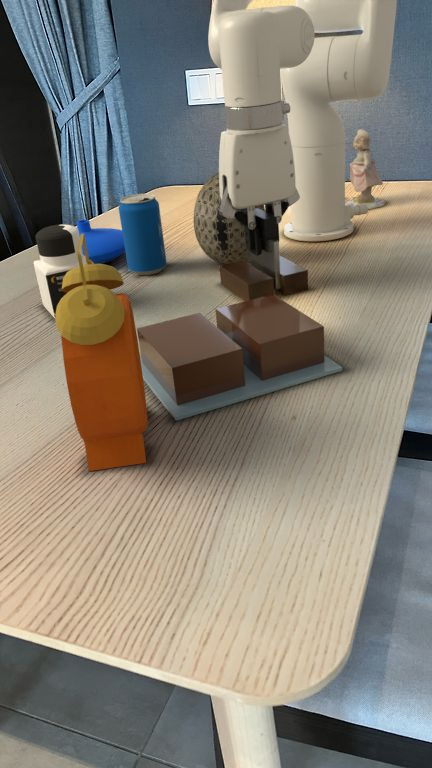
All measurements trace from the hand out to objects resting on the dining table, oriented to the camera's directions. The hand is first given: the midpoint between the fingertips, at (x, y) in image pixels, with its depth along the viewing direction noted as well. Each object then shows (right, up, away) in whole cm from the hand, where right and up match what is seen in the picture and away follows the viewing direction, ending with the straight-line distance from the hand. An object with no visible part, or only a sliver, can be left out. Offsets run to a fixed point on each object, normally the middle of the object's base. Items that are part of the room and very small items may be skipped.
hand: (263, 250), depth 98 cm
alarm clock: (-16, -25, -31) cm, 43 cm away
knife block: (0, -5, +2) cm, 5 cm away
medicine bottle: (-28, -8, +2) cm, 30 cm away
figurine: (+23, +17, +40) cm, 49 cm away
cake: (-5, -18, -20) cm, 27 cm away
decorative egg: (-4, 0, +13) cm, 14 cm away
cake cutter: (0, -4, +2) cm, 5 cm away
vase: (-29, +2, +22) cm, 37 cm away
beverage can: (-18, -1, +14) cm, 23 cm away
